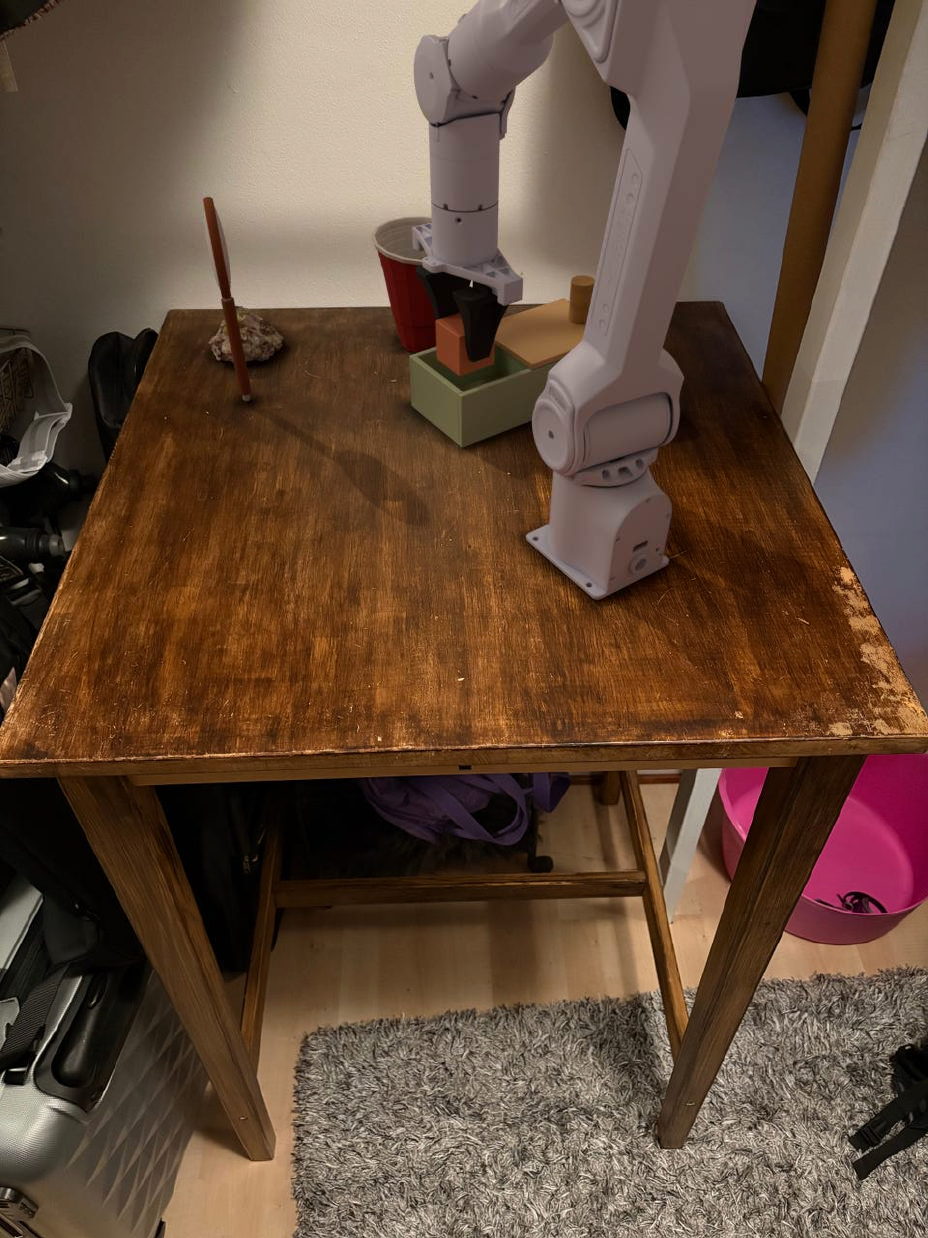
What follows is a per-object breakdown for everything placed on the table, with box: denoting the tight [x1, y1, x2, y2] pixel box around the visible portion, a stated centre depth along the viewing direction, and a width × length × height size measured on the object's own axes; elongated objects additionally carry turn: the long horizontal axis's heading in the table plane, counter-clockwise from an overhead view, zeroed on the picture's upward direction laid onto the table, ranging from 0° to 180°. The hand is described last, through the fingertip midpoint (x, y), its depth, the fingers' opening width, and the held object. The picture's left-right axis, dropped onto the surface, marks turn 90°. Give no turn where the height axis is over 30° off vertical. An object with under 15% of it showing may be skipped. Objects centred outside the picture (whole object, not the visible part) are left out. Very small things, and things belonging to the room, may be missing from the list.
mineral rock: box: [207, 305, 285, 363], centre depth 101 cm, size 11×4×8 cm
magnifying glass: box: [202, 196, 252, 402], centre depth 86 cm, size 9×2×20 cm, turn 14°
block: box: [436, 313, 494, 376], centre depth 85 cm, size 4×4×4 cm
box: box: [408, 344, 558, 449], centre depth 90 cm, size 9×11×6 cm
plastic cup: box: [370, 216, 436, 354], centre depth 98 cm, size 11×11×12 cm
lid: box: [494, 274, 595, 369], centre depth 89 cm, size 9×11×5 cm
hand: (465, 347), depth 86 cm, fingers closed on block, 4 cm apart
